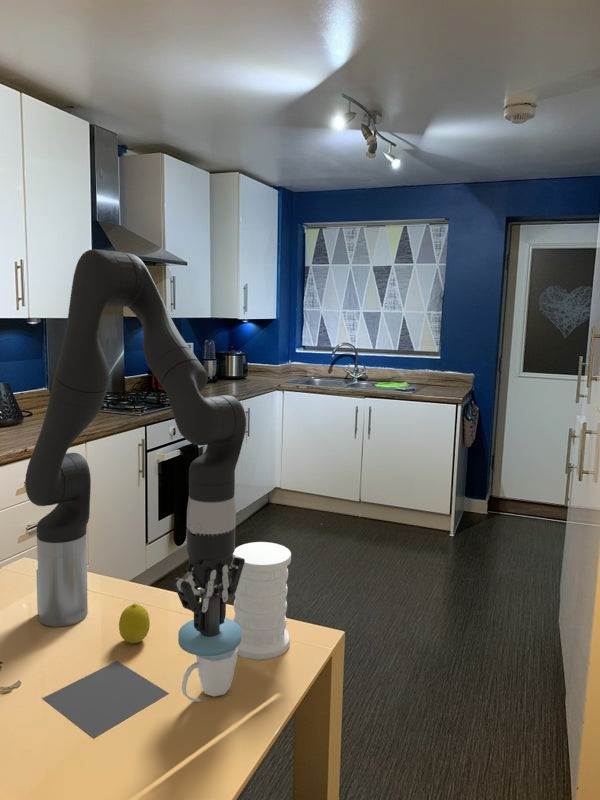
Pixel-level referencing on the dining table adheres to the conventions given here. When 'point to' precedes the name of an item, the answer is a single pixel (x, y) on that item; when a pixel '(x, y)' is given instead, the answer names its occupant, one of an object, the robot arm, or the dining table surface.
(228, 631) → the lid
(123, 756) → the dining table surface
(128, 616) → the lemon
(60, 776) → the dining table surface
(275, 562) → the decorative container
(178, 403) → the robot arm
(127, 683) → the mat
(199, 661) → the cup
